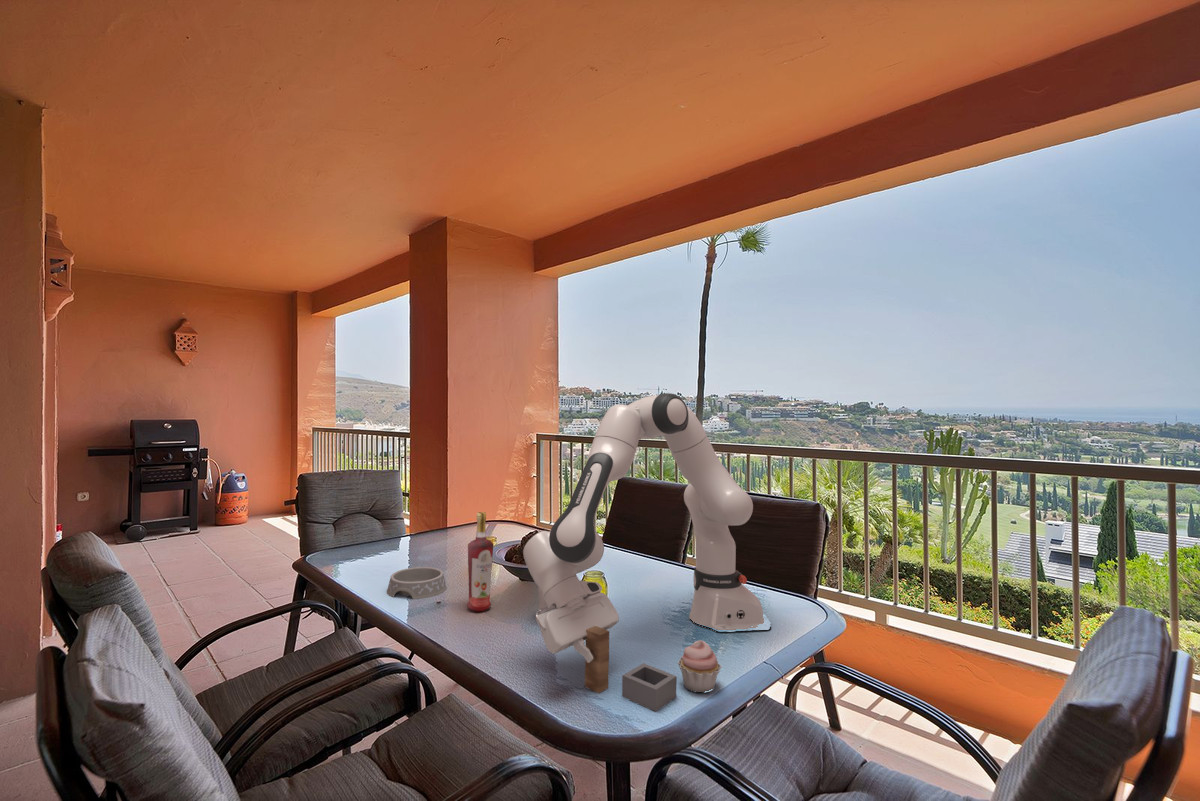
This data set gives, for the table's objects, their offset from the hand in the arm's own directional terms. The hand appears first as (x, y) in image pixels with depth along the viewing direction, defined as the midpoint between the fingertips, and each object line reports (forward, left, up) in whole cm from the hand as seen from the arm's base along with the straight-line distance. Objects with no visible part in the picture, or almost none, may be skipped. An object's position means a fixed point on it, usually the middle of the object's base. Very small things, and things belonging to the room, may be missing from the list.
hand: (599, 656), depth 115 cm
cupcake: (-22, -2, -7) cm, 23 cm away
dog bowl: (+60, -57, -7) cm, 84 cm away
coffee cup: (+14, -36, -7) cm, 40 cm away
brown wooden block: (0, 0, -7) cm, 7 cm away
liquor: (+36, -42, -7) cm, 56 cm away
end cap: (-11, +3, -7) cm, 13 cm away
